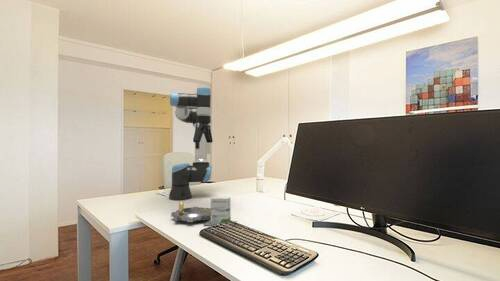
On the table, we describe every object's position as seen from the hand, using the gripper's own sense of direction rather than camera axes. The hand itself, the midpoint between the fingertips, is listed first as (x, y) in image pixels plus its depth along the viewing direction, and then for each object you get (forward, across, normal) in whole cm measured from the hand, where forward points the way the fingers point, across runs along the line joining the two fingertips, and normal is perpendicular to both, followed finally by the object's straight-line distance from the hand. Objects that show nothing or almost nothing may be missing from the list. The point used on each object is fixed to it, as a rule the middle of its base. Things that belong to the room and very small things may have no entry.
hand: (203, 154), depth 139 cm
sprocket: (+30, +12, 0) cm, 32 cm away
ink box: (+31, +16, +16) cm, 39 cm away
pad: (+32, +16, +16) cm, 39 cm away
